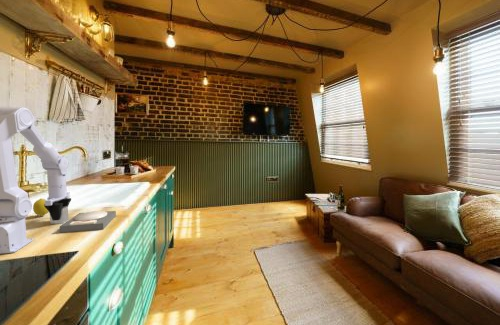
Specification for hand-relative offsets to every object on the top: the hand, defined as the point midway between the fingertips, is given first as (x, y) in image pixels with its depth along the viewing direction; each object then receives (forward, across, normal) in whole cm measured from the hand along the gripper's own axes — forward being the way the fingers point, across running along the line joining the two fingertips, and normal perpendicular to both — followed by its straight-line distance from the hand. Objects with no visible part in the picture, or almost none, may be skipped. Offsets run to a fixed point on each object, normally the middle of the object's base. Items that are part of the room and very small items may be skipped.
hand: (59, 218), depth 95 cm
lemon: (+2, +10, +11) cm, 15 cm away
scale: (+2, -5, -13) cm, 14 cm away
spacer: (+2, 0, 0) cm, 2 cm away
